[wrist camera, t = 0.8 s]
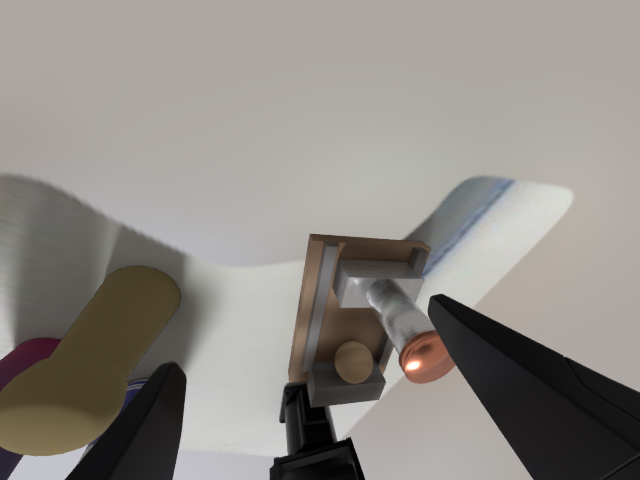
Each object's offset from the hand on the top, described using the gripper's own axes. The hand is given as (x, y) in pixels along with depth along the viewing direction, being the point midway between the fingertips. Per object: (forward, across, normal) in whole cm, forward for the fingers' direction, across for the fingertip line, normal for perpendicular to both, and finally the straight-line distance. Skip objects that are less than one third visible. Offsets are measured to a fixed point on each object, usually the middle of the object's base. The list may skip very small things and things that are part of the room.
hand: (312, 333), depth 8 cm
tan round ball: (+11, -4, +17) cm, 21 cm away
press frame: (+13, -5, +14) cm, 19 cm away
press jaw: (+11, -7, +8) cm, 15 cm away
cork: (+13, +14, +6) cm, 20 cm away
